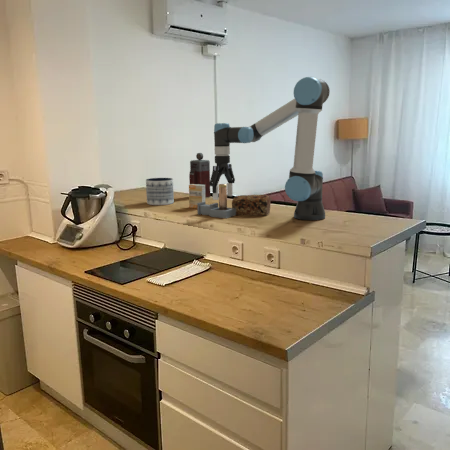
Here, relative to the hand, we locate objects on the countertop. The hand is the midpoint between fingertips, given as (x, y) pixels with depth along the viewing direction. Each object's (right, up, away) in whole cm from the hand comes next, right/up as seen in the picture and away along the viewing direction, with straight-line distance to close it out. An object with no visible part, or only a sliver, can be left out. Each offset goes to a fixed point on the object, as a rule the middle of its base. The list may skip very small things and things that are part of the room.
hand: (222, 197), depth 234 cm
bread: (+15, -8, +7) cm, 18 cm away
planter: (-37, -1, +44) cm, 57 cm away
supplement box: (-14, -4, +26) cm, 30 cm away
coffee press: (-15, +4, +65) cm, 67 cm away
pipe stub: (0, -9, +2) cm, 9 cm away
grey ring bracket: (-4, -9, +4) cm, 10 cm away
